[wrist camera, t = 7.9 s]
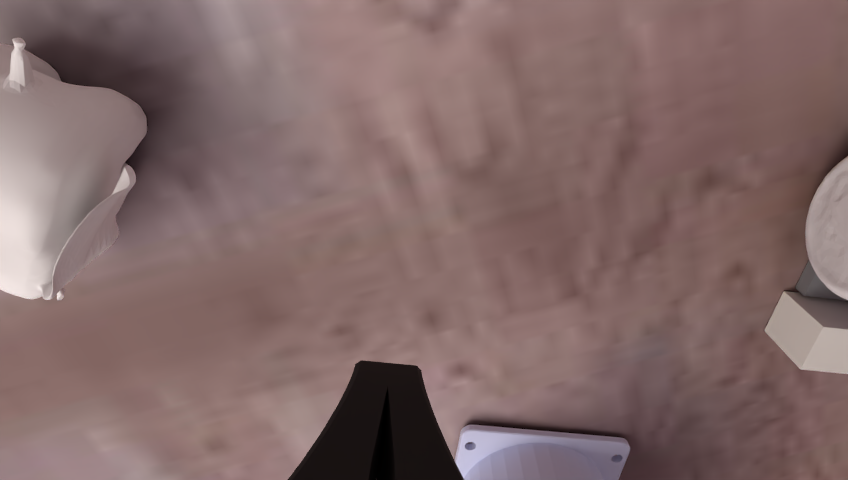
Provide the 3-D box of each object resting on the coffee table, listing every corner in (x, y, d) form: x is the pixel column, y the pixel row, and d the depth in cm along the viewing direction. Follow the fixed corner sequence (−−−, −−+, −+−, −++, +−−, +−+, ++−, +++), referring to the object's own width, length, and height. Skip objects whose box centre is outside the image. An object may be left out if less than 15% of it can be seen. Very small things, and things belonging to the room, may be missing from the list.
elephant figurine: (-60, 217, 21) (-267, 328, 15) (-28, -36, 17) (-290, -34, 11) (142, 293, 23) (34, 424, 16) (212, 78, 19) (107, 137, 12)
